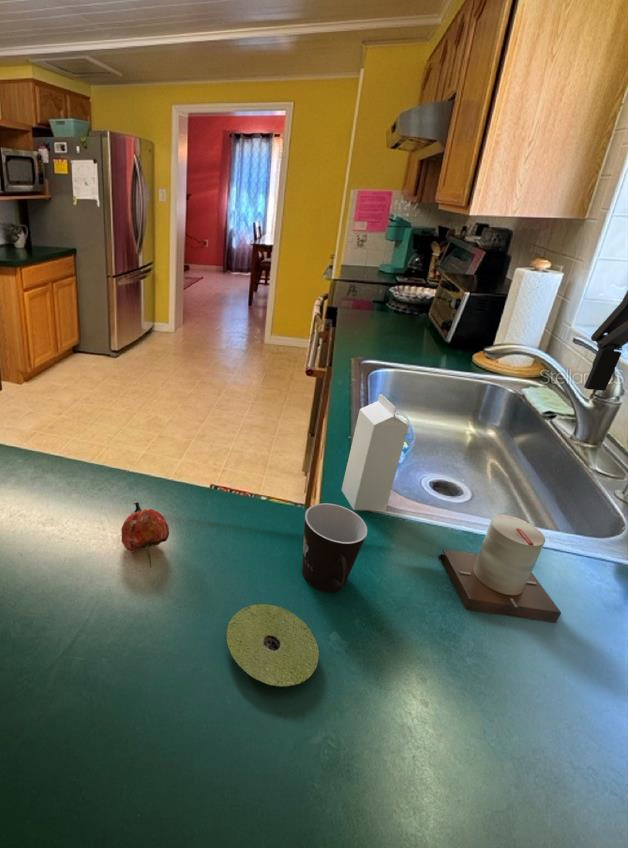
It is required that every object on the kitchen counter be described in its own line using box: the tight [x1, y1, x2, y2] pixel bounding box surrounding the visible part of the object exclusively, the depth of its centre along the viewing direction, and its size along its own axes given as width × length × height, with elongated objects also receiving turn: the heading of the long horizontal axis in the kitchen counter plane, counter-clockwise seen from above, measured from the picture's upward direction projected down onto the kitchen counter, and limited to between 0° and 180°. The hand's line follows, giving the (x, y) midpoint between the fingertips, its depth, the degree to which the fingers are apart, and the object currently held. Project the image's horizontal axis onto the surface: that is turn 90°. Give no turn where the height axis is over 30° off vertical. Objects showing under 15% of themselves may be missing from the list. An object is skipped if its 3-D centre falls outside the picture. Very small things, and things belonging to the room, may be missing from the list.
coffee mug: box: [301, 502, 368, 593], centre depth 68 cm, size 12×9×10 cm
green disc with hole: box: [226, 603, 320, 687], centre depth 58 cm, size 11×11×2 cm
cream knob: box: [473, 514, 546, 595], centre depth 68 cm, size 6×6×9 cm
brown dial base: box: [439, 548, 562, 624], centre depth 70 cm, size 12×11×2 cm
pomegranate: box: [120, 501, 170, 568], centre depth 73 cm, size 7×7×10 cm
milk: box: [341, 393, 410, 512], centre depth 83 cm, size 6×6×22 cm
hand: (625, 407), depth 70 cm, fingers open, 13 cm apart
